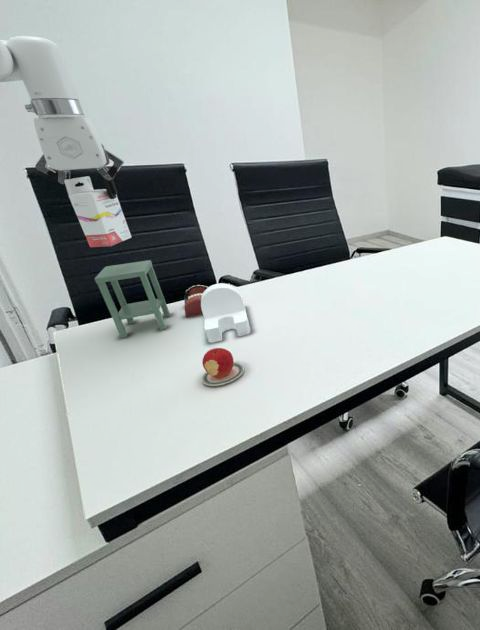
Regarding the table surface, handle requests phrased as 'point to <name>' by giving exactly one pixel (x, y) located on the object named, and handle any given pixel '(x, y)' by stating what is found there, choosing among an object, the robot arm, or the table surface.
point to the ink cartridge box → (97, 213)
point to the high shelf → (126, 309)
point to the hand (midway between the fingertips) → (95, 199)
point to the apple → (220, 367)
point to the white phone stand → (223, 311)
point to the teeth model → (194, 300)
